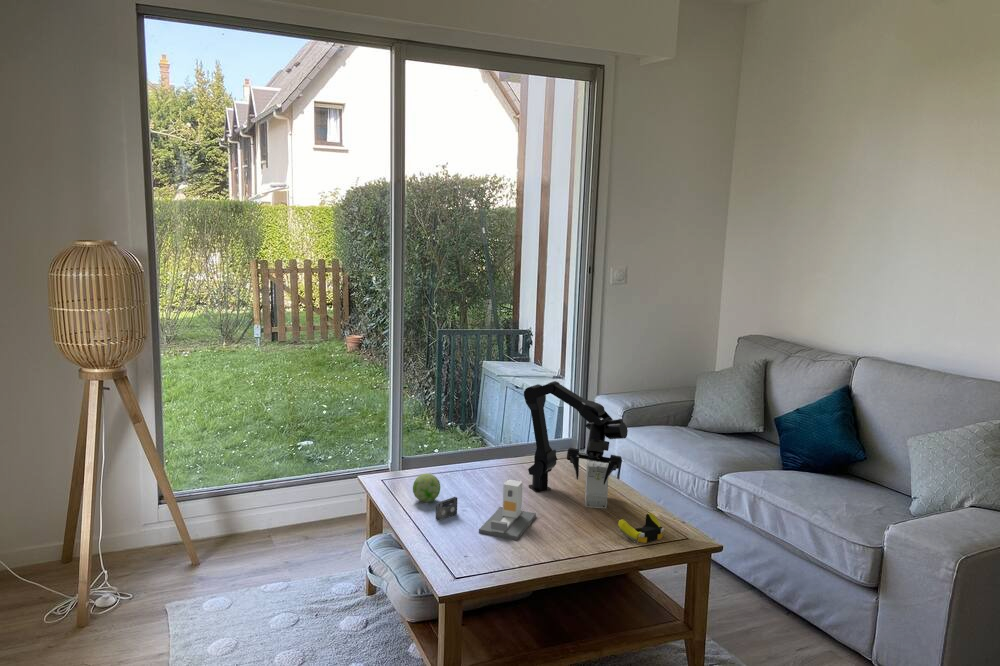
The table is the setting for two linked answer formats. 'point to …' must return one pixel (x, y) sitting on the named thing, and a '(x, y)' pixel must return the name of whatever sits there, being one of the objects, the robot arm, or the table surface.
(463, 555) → the table surface
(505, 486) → the block
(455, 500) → the mini dv tape
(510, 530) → the din rail plate
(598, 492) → the circuit breaker
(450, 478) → the table surface
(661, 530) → the gaming controller
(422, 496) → the decorative ball
